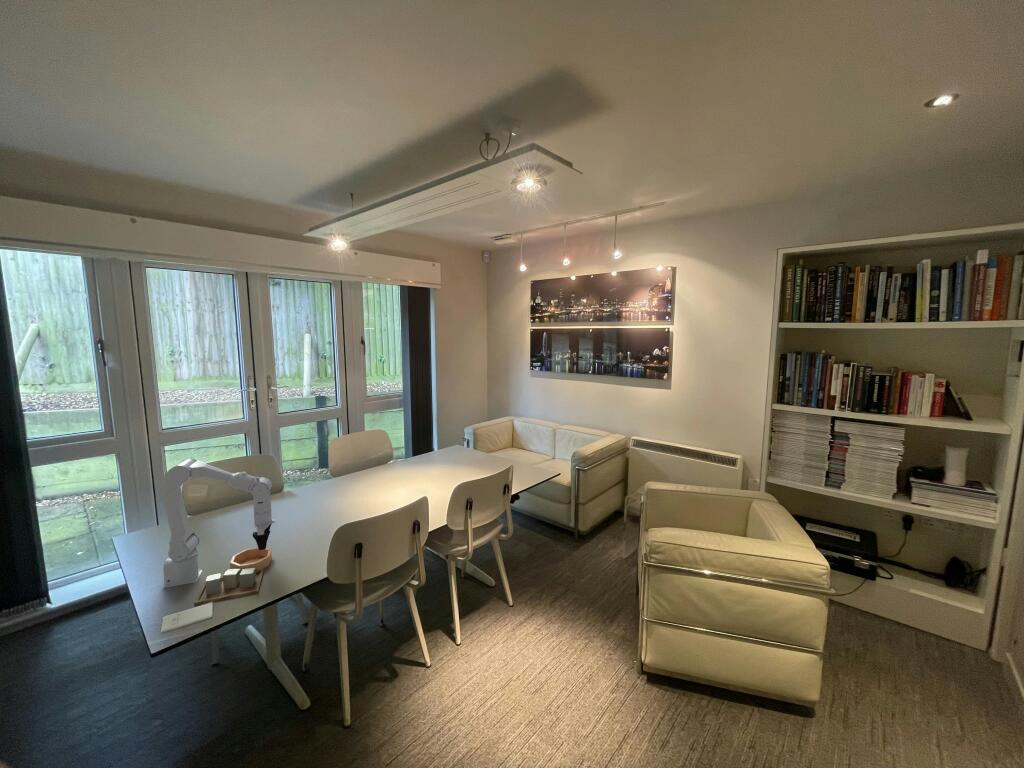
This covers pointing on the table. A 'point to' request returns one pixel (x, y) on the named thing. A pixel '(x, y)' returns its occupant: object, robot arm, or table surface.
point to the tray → (229, 591)
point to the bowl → (251, 559)
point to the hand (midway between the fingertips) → (263, 544)
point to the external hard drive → (187, 617)
